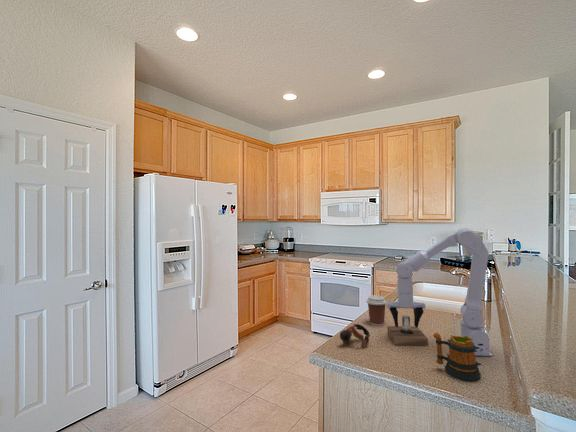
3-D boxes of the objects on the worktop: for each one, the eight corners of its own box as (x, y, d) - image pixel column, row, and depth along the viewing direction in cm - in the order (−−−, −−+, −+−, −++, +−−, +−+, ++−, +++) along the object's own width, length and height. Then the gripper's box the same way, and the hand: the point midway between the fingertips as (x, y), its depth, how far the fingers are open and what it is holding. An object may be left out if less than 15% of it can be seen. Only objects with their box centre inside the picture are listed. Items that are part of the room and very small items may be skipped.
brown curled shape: (353, 337, 121) (362, 322, 119) (366, 356, 113) (376, 340, 111) (331, 336, 115) (340, 319, 113) (343, 355, 108) (353, 338, 105)
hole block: (427, 345, 111) (427, 337, 111) (395, 345, 112) (394, 337, 112) (417, 333, 122) (416, 326, 123) (387, 333, 124) (387, 325, 124)
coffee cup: (388, 321, 138) (388, 295, 138) (385, 327, 130) (385, 300, 130) (369, 318, 142) (368, 293, 142) (364, 324, 134) (364, 298, 134)
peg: (411, 340, 116) (410, 317, 116) (403, 340, 116) (402, 317, 116) (409, 337, 118) (408, 315, 119) (401, 337, 119) (401, 315, 119)
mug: (479, 368, 93) (478, 332, 93) (484, 385, 84) (483, 345, 84) (433, 361, 99) (432, 326, 99) (434, 375, 90) (433, 338, 90)
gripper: (420, 289, 121) (421, 323, 120) (384, 289, 122) (385, 322, 122) (426, 294, 114) (428, 329, 113) (388, 294, 115) (389, 328, 115)
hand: (406, 326), depth 117 cm, fingers open, 7 cm apart
